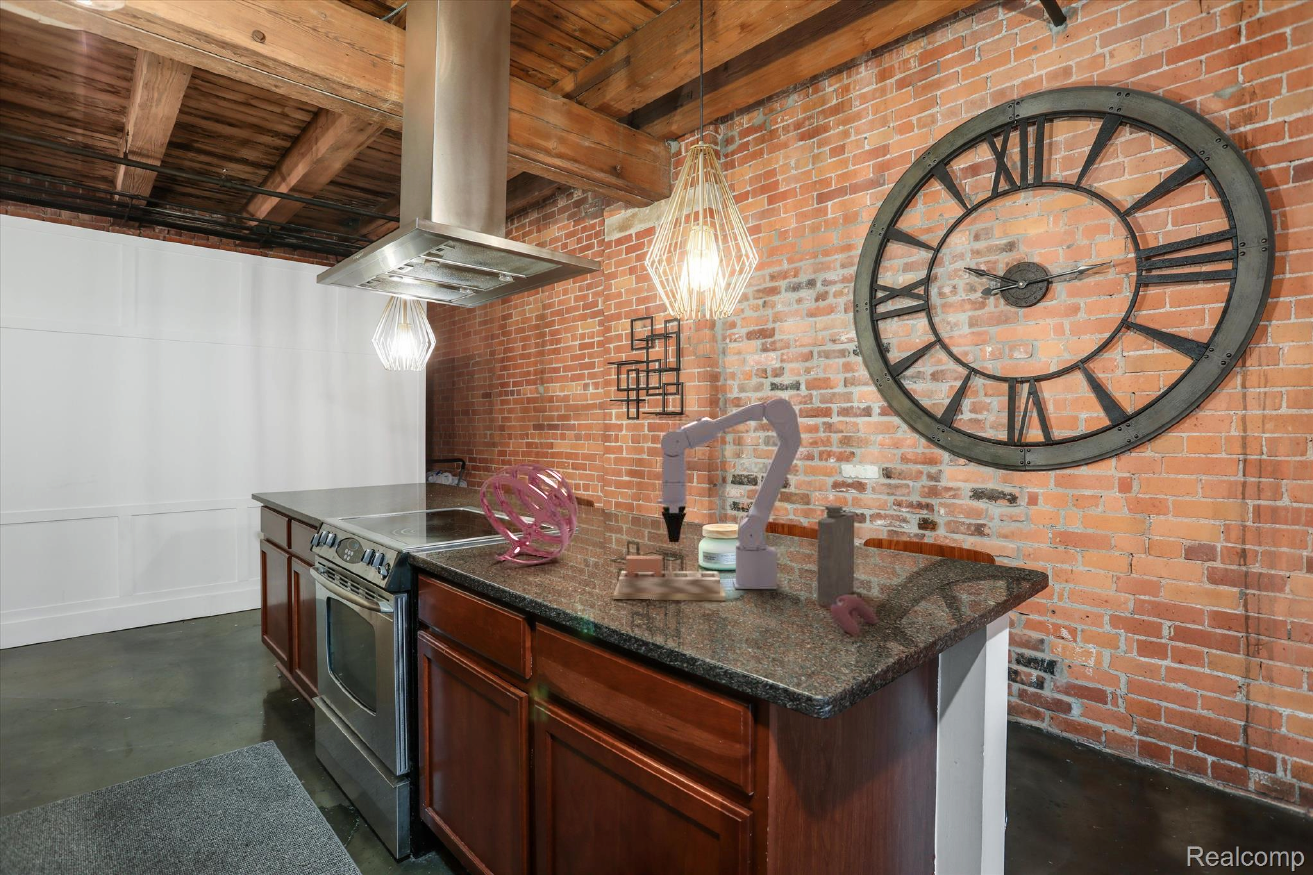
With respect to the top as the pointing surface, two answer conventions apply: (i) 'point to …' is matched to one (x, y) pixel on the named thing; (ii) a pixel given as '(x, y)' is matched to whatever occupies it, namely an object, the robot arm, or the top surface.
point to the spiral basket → (532, 510)
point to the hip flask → (835, 555)
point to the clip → (644, 565)
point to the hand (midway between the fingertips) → (674, 538)
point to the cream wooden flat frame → (670, 586)
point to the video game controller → (851, 613)
